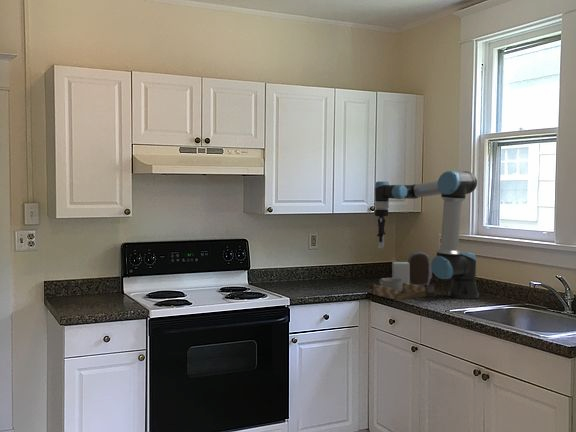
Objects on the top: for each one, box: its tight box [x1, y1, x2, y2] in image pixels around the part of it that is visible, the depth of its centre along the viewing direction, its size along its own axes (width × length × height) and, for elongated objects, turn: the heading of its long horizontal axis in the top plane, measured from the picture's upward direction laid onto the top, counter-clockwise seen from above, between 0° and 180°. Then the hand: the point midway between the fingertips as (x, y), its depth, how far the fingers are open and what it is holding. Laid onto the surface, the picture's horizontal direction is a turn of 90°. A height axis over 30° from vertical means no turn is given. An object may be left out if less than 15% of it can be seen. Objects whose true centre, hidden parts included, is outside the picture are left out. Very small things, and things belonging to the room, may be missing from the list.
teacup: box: [379, 277, 403, 293], centre depth 332 cm, size 14×11×8 cm
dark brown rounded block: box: [407, 250, 434, 287], centre depth 361 cm, size 15×8×20 cm, turn 78°
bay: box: [373, 278, 439, 301], centre depth 327 cm, size 21×27×9 cm
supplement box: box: [391, 261, 410, 284], centre depth 346 cm, size 9×9×15 cm
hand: (381, 247), depth 350 cm, fingers open, 13 cm apart
